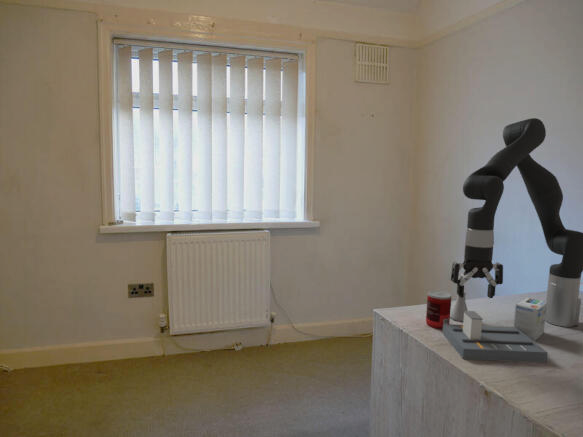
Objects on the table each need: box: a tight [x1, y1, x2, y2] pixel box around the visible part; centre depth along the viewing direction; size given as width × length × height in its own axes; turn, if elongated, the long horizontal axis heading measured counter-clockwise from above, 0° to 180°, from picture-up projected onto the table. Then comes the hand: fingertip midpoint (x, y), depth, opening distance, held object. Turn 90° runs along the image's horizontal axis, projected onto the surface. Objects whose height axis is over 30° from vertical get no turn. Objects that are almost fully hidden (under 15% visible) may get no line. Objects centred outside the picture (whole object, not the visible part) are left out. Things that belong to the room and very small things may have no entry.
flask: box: [450, 290, 469, 322], centre depth 144 cm, size 7×7×10 cm
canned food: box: [425, 290, 452, 330], centre depth 138 cm, size 8×8×11 cm
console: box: [441, 323, 548, 364], centre depth 122 cm, size 23×18×4 cm
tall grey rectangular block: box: [462, 310, 484, 340], centre depth 121 cm, size 3×6×7 cm, turn 177°
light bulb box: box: [513, 297, 547, 342], centre depth 131 cm, size 11×7×11 cm, turn 134°
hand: (475, 297), depth 120 cm, fingers open, 8 cm apart
